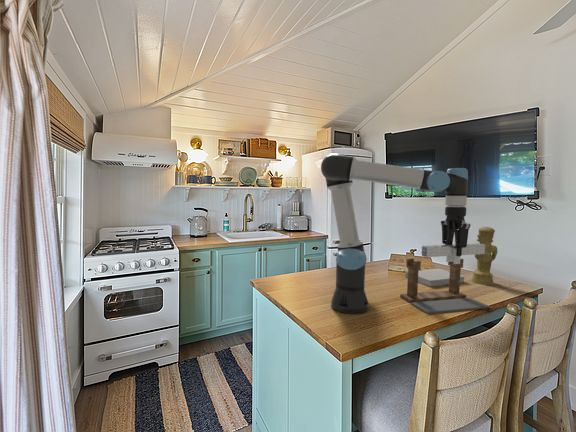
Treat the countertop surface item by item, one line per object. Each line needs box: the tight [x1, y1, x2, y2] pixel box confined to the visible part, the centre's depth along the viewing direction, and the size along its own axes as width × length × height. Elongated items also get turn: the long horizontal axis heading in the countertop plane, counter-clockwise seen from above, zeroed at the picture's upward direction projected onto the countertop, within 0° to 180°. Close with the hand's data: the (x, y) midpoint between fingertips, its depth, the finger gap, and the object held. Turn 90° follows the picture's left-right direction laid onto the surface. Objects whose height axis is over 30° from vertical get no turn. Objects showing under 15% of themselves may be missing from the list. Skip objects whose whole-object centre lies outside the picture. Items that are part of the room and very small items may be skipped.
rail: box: [421, 242, 485, 258], centre depth 120 cm, size 28×3×4 cm, turn 103°
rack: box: [399, 258, 467, 304], centre depth 131 cm, size 29×7×18 cm, turn 103°
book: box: [404, 268, 466, 288], centre depth 160 cm, size 18×4×24 cm
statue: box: [470, 226, 498, 286], centre depth 155 cm, size 11×10×30 cm
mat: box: [410, 297, 491, 315], centre depth 122 cm, size 30×10×1 cm, turn 103°
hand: (453, 262), depth 121 cm, fingers closed on rail, 3 cm apart
